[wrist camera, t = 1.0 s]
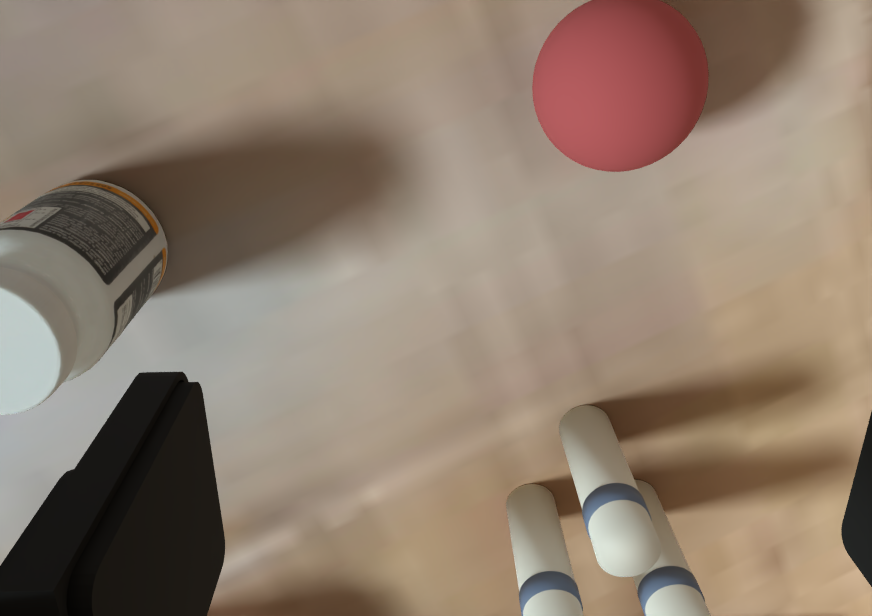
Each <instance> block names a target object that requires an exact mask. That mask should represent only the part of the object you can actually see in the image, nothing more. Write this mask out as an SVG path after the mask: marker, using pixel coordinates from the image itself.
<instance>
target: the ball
mask: <svg viewBox="0 0 872 616" xmlns="http://www.w3.org/2000/svg"><path fill="white" fill-rule="evenodd" d="M532 88H533V101H534V106H535V111H536V114H537V117H538V120H539V122H540V124H541V126H542V128H543V130H544V132H545V134H546V135H547V137H548V138H549V140H550V141H551V142H552V143H553V144H554V145H555V147H556V148H557V149H559V150H560V151H561V152H562V153H563V154H564V155H566V156H567V157H569V158H570V159H572V160H573V161H575V162H577V163H579V164H581V165H583V166H586V167H589V168H592V169H596V170H602V171H611V172H621V171H630V170H634V169H638V168H642V167H644V166H647V165H650V164H652V163H654V162H656V161H658V160H660V159H662V158H663V157H665V156H666V155H668V154H669V153H671V152H672V151H673V150H674V149H675V148H677V147H678V146H679V145H680V144H681V143H682V142H683V141H684V140H685V138H686V137H687V136H688V135H689V133H690V132H691V131H692V129H693V128H694V126H695V124H696V123H697V121H698V119H699V117H700V114H701V112H702V110H703V107H704V104H705V100H706V96H707V90H708V63H707V58H706V54H705V50H704V48H703V45H702V42H701V40H700V38H699V36H698V35H697V33H696V31H695V30H694V28H693V27H692V26H691V24H690V23H689V22H688V20H687V19H686V18H685V17H684V16H683V15H682V14H680V13H679V12H678V11H677V10H675V9H674V8H673V7H671V6H670V5H668V4H666V3H664V2H662V1H660V0H592V1H589V2H587V3H585V4H583V5H581V6H580V7H578V8H576V9H575V10H573V11H572V12H571V13H569V14H568V15H567V16H566V17H565V18H564V19H563V20H561V21H560V22H559V23H558V25H557V26H556V27H555V28H554V29H553V31H552V32H551V33H550V35H549V36H548V38H547V39H546V41H545V43H544V45H543V47H542V49H541V51H540V53H539V56H538V59H537V62H536V65H535V70H534V75H533V86H532Z"/></svg>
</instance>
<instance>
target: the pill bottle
mask: <svg viewBox="0 0 872 616" xmlns="http://www.w3.org/2000/svg"><path fill="white" fill-rule="evenodd" d="M167 256H168V250H167V241H166V238H165V234H164V231H163V229H162V227H161V225H160V223H159V221H158V220H157V218H156V217H155V215H154V213H153V212H152V211H151V210H150V209H149V208H148V207H147V205H146V204H145V203H144V202H143V201H141V200H140V199H139V198H138V197H136V196H135V195H134V194H132V193H131V192H129V191H127V190H126V189H124V188H122V187H119V186H116V185H114V184H111V183H107V182H104V181H99V180H78V181H72V182H68V183H65V184H63V185H60V186H58V187H56V188H54V189H52V190H50V191H49V192H47V193H45V194H44V195H42V196H40V197H38V198H37V199H35V200H34V201H33V202H31V203H29V204H28V205H26V206H25V207H24V208H22V209H20V210H19V211H17V212H16V213H14V214H13V215H11V216H10V217H8V218H7V219H5V220H4V221H2V222H1V223H0V415H9V414H16V413H20V412H24V411H27V410H30V409H32V408H34V407H36V406H38V405H39V404H41V403H42V402H44V401H45V400H46V399H47V398H48V397H50V396H51V395H52V394H53V393H54V392H55V390H56V389H57V388H58V387H59V386H60V385H61V384H62V383H63V382H66V381H69V380H72V379H74V378H76V377H78V376H80V375H81V374H83V373H84V372H86V371H87V370H89V369H91V368H92V367H93V366H94V365H95V364H96V363H97V362H98V361H99V360H100V358H101V357H102V356H103V355H104V354H105V352H106V351H107V350H108V349H109V347H110V346H111V345H112V344H113V343H114V342H115V340H116V339H117V338H118V337H119V336H120V335H121V333H122V332H123V330H124V329H125V328H126V326H127V325H128V324H129V323H130V321H131V320H132V319H133V318H134V316H135V315H136V314H137V312H138V311H139V310H140V309H141V307H142V306H143V305H144V304H145V303H146V301H147V300H148V299H149V298H150V297H151V295H152V294H153V293H154V291H155V290H156V289H157V287H158V285H159V283H160V282H161V280H162V278H163V275H164V273H165V270H166V265H167Z"/></svg>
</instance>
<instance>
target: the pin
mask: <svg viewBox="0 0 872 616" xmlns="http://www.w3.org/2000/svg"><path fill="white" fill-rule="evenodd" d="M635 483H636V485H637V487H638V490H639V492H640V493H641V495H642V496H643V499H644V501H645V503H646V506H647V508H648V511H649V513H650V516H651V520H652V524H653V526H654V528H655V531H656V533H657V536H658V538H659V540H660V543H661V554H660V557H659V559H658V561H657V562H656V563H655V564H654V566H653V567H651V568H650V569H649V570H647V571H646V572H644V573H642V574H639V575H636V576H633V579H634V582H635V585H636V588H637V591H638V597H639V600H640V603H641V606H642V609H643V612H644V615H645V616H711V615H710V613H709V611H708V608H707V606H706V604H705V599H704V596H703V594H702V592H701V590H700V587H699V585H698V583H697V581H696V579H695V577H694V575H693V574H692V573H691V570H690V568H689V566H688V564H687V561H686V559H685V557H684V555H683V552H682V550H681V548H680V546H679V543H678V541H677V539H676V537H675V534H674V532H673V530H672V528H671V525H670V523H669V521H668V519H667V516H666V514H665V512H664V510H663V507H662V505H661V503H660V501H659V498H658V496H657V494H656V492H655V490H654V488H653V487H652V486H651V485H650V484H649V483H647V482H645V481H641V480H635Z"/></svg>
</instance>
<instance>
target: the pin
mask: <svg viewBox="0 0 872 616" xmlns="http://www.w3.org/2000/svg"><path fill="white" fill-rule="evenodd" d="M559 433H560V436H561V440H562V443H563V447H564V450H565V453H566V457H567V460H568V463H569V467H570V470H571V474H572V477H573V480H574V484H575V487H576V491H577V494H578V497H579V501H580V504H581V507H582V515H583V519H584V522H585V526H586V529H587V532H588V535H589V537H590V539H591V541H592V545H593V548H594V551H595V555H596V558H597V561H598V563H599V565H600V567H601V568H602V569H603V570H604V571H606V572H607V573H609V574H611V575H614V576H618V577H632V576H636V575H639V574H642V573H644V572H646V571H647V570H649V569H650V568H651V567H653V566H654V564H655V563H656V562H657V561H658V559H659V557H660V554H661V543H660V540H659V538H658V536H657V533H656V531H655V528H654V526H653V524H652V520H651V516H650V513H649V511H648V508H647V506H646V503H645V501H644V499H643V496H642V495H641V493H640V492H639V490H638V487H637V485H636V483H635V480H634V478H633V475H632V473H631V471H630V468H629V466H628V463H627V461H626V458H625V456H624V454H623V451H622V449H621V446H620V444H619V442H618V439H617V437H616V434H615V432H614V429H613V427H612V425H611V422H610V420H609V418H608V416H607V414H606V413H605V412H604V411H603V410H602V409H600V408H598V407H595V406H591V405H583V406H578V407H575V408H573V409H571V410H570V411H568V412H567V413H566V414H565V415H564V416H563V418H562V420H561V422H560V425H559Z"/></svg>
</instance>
